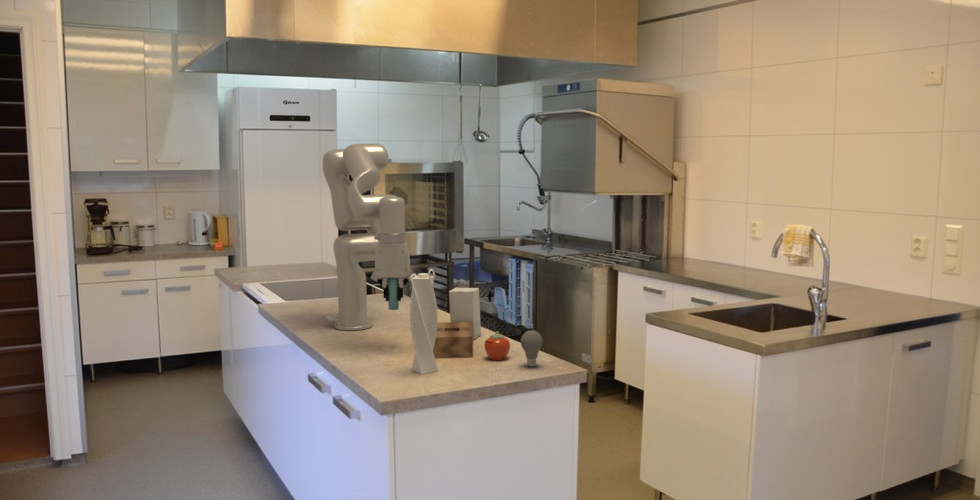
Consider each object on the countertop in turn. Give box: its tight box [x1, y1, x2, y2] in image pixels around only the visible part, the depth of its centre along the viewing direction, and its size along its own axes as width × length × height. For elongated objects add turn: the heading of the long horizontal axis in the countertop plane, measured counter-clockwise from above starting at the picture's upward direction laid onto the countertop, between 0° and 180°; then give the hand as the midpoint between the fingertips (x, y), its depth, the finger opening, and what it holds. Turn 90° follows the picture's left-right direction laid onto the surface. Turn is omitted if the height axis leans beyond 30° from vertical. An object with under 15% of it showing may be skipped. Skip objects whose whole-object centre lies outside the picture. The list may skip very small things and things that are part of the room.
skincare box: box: [448, 287, 482, 340], centre depth 251 cm, size 8×7×16 cm
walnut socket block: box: [433, 321, 474, 359], centre depth 237 cm, size 12×20×6 cm, turn 2°
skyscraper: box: [409, 268, 439, 375], centre depth 212 cm, size 8×8×28 cm
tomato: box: [483, 330, 511, 361], centre depth 225 cm, size 7×7×8 cm
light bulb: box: [520, 329, 543, 368], centre depth 216 cm, size 6×6×10 cm
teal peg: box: [387, 278, 400, 311], centre depth 235 cm, size 3×3×10 cm
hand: (393, 299), depth 235 cm, fingers closed on teal peg, 3 cm apart
